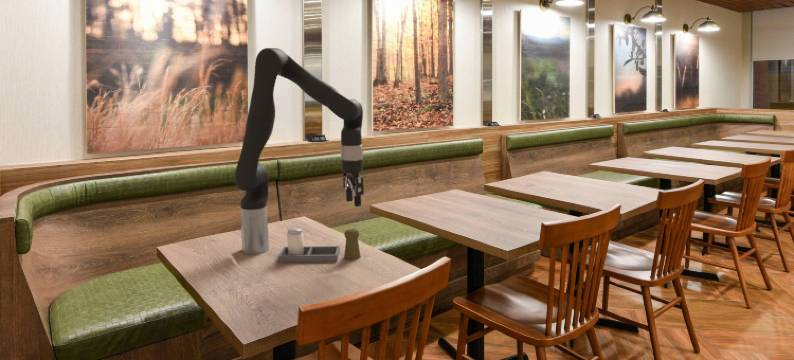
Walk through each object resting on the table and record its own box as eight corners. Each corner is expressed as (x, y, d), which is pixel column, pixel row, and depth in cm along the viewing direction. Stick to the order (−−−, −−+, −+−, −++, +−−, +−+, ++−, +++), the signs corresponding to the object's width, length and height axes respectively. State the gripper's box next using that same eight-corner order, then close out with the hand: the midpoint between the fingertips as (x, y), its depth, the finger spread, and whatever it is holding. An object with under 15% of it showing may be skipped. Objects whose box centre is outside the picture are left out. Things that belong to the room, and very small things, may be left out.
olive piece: (358, 262, 191) (357, 232, 189) (341, 261, 193) (341, 231, 190) (362, 256, 197) (362, 227, 195) (346, 255, 198) (345, 226, 196)
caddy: (278, 264, 190) (278, 256, 189) (284, 254, 200) (283, 246, 200) (337, 263, 190) (337, 255, 190) (339, 253, 201) (339, 246, 200)
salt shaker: (290, 260, 191) (289, 232, 189) (286, 255, 196) (285, 228, 194) (306, 258, 194) (304, 230, 192) (301, 253, 199) (300, 226, 197)
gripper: (335, 156, 193) (336, 200, 196) (348, 161, 180) (350, 209, 183) (355, 154, 196) (356, 198, 199) (369, 159, 183) (371, 206, 186)
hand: (353, 203), depth 191 cm, fingers open, 8 cm apart
